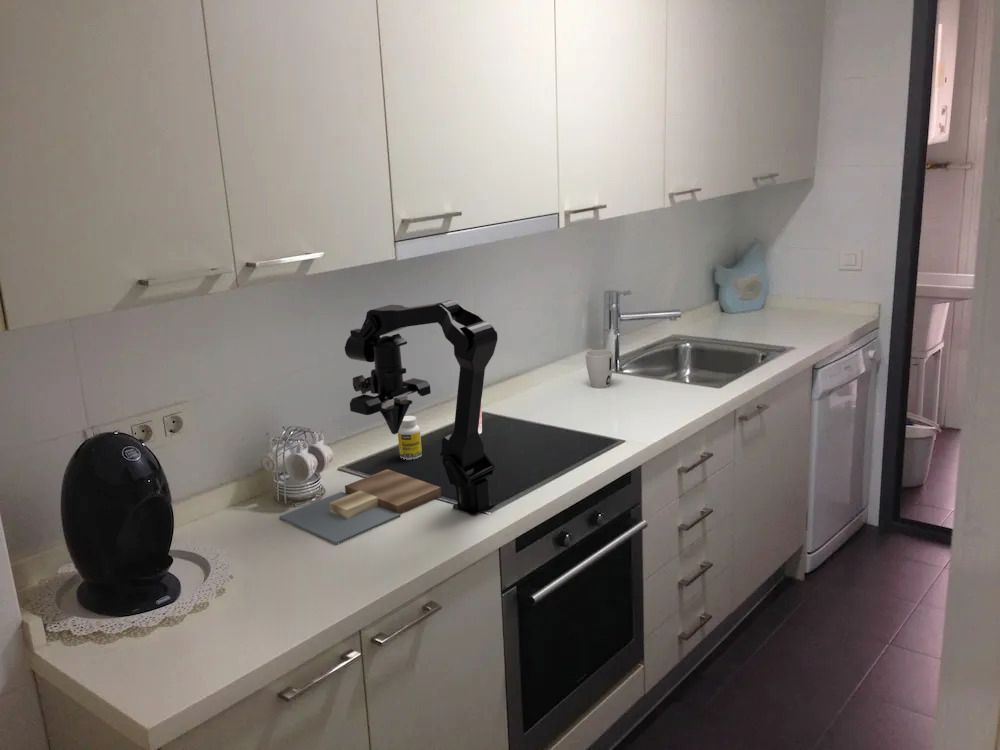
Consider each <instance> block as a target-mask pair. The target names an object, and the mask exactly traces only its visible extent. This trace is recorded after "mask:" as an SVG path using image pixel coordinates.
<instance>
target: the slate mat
mask: <svg viewBox="0 0 1000 750" xmlns="http://www.w3.org/2000/svg"><path fill="white" fill-rule="evenodd" d="M348 495H349V494H347V493H346V492H345V491H340V492H337V493H334V494H332V495H329V496H327V497H324V498H322V499H319V500H317V501H314V502H312V503H310V504H309V503H308V504H307V505H304V506H302V507H299V508H296V509H294V510H291V511H289V512H286V513H283V514H281V515H280V516H278V519H279V520H282V521H284V522H286V523H288V524H290V525H292V526H295V527H297V528H299V529H301V530H304V531H305V532H308V533H309V534H312V535H314V536H317V537H318V538H320V537H321V539H323V540H325V541H327V542H329V541H330V542H329V543H331V542H332V544H333V543H334V544H333V545H336V546H337V545H339V544H338V543H340V544H342V543H344V542H346V541H349V540H351V539H353V538H355V536H356V537H358V536H360V535H362V534H364V532H365V533H366V531H367V532H369V531H371V530H373V528H374V529H375V528H377V527H380V526H382V525H385V524H387V523H389V522H392V521H394V520H396V519H398V518H401V514H398V513H395V512H393V511H390V510H388V509H385V508H383V507H380V506H377V507H375V508H373V509H370V510H368V511H366V512H363V513H361V514H359V515H356V516H354V517H352V518H349V519H347V518H344V517H342V516H339V515H337V514H335V513H332V512H330V504H329V503H330V502H333V501H335V500H338V499H340V498H343V497H345V496H348ZM368 530H369V531H368ZM361 533H362V534H361ZM359 534H360V535H359ZM357 535H358V536H357ZM352 537H353V538H352ZM350 538H351V539H350ZM348 539H349V540H348ZM345 540H346V541H345ZM343 541H344V542H343ZM341 542H342V543H341Z"/></svg>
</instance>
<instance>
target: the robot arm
mask: <svg viewBox="0 0 1000 750" xmlns="http://www.w3.org/2000/svg"><path fill="white" fill-rule="evenodd" d="M454 321H455V322H456V323H458V324H460V325H462V327H460V328H459V327H458V325H456V324H455V322H454ZM436 323H437V324H438V325H439V326H441V329H442V332H443V335H444V337H445V339H446V340H447V341H449V342H450V344H452V346H453V355H454V357H455V359H456V361H457V364H458V365H459V374H458V375H459V377H458V386H457V396H456V406H455V415H454V424H453V431H452V433H450V434H448V435H446V436H443V437H442V439H441V451H440V454H439V456H441V458H442V459H441V462H442V465H443V467H444V470H445V473H446V476H447V478H448V482H449V483H450V484H451V485H453V486H454V487H455V491H456V502H457V503H455V504H453V505H452V509H453V510H456V511H460V512H463V513H465V514H468V515H470V516H475V515H476V516H477V515H478V514H480V513H482V511H483V512H484V510H485V511H487V510H489V509H491V508H493V507H495V506H496V503H495V502H493V501H490V493H489V480H488V479H487V478H488V477H491V476H493V475H494V474H495V473H494V472H495V470H496V469H495V468H496V466H495V465H494V463H493V462H492V460H491V459H490V458H489V457H488V456H487V454H486V453H485V450H484V441H483V439H482V436H481V435H480V434H479V433H478V427H479V418H480V409H481V400H482V399H483V391H484V390H483V389H484V383H485V382H484V380H485V373H486V367H487V366H488V364H489V362H490V361H491V359H492V357H494V354H495V350H496V346H497V343H498V339H499V338H498V332H497V330H495V327H494V326H493V325H492V324H491V323H490V322H488V321H487V320H485V319H484V318H483V316H481V315H480V314H478V313H476V312H473V311H472V310H470V309H467V308H465V307H464V306H463V305H462V304H461V303H460V302H458V301H457V300H455V299H448V300H446V301H441V302H436V303H429V304H423V305H417V306H409V307H408V306H407V307H406V306H404V305H400V304H387V305H384V306H381V307H376V308H373V309H369V310H367V311H366V315H365V319H364V321H363V323H362V327H361V328H354V329H350V332H349V333H350V335H349V337H348V338H347V339H346V342H345V346H344V352H345V356H346V357H348V359H351V360H353V361H360V362H366V363H373V364H374V369H370V370H371V371H370V376H369V377H365V376H364V374H361V375H358V376H357V375H356V376H354V377H352V387H353V390H354V391H355V392H356V393H357V392H361V395H359V396H355V397H352V398H351V400H350V401H349V410H350V412H352V413H356V414H361V415H365V416H370V415H374V414H376V413H379V412H380V414H381V415H382V417H383V418H384V420H385V422H386V424H387V426H388V428H389V430H390V433H391V434H392V435H398V431H399V428H400V426H401V423H402V421H403V418H404V416H406V413H407V411H408V410H409V408H410V406H411V405H412V404H413V400H410V399H409V397H408V396H409V395H411V394H414V393H417V395H419V396H420V397H425V396H427V395H430V394H432V393H431V392H432V391H431V385H430V383H429V381H427V380H424V379H419V378H414V377H413V378H410V379H407V380H404V376H403V375H404V374H406V373H407V368H406V367H403V365H402V356H401V355H402V353H401V346H404V345H407V344H408V340H406V339H405V337H402V336H401V334H400V333H396V334H393V335H387V334H391V333H394V332H398V331H400V330H402V329H405V328H407V327H414V326H421V325H430V324H436ZM381 336H382V337H381ZM368 392H370V394H373V395H375V394H377V395H375V396H373V395H370V394H369V395H368V394H366V393H368ZM482 401H483V400H482ZM488 508H489V509H488ZM486 509H487V510H486Z"/></svg>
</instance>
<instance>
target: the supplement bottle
mask: <svg viewBox="0 0 1000 750" xmlns="http://www.w3.org/2000/svg"><path fill="white" fill-rule="evenodd" d="M421 436H422V435H421V428H420V426H419V425H417V417H416V416H414V415H405V416H404V418H403V421H402V423H401V426H400V428H399V431H398V433H397V437H398V438H397V439H398V449H399V450H398V451H399V457H400V458H401V459H402V458H403V459H402V460H405V459H406V460H405V461H412V459H413V460H416V459H419V457H420V458H421V457H422V454H423V451H422V448H423V447H422V438H421Z"/></svg>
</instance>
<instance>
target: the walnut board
mask: <svg viewBox="0 0 1000 750" xmlns="http://www.w3.org/2000/svg"><path fill="white" fill-rule="evenodd" d="M358 491H363V492H365V493H368V494H371V495H373V496H376V497H378V505H379V506H380V507H383V508H385V509H388V510H390V511H393V512H395V513H398V514H400V515H401V514H403V513H406V512H408V511H410V510H413V509H415V508H417V507H420V506H422V505H423V504H424V505H425V504H427V503H429V502H431V501H434V500H435V499H438V498H439V496H440V497H441V496H442V488H441V486H438V485H435V484H432V483H429V482H426V481H424V480H422V479H418V478H415V477H411V476H408V475H406V474H403V473H400V472H397V471H394V470H391V469H388V468H387V469H383V470H381V471H379V472H377V473H373V474H371V475H369V476H366V477H364V478H361V479H359V480H357V481H353V482H351V483H349V484H346V485H344V493H347V494H349V495H350V494H353V493H355V492H358ZM437 497H438V498H437Z"/></svg>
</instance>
